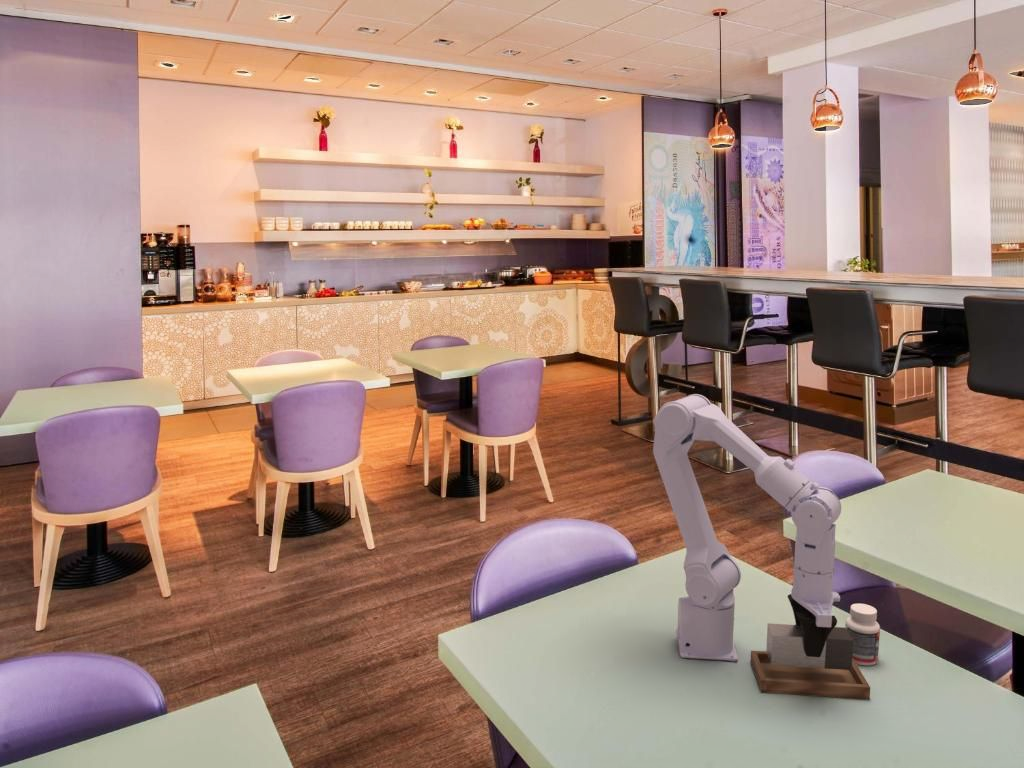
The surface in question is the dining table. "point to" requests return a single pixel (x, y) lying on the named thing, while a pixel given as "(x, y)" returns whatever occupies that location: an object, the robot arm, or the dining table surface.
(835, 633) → the low gray brick
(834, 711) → the dining table surface
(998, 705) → the dining table surface
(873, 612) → the pill bottle
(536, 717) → the dining table surface
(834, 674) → the walnut tray
